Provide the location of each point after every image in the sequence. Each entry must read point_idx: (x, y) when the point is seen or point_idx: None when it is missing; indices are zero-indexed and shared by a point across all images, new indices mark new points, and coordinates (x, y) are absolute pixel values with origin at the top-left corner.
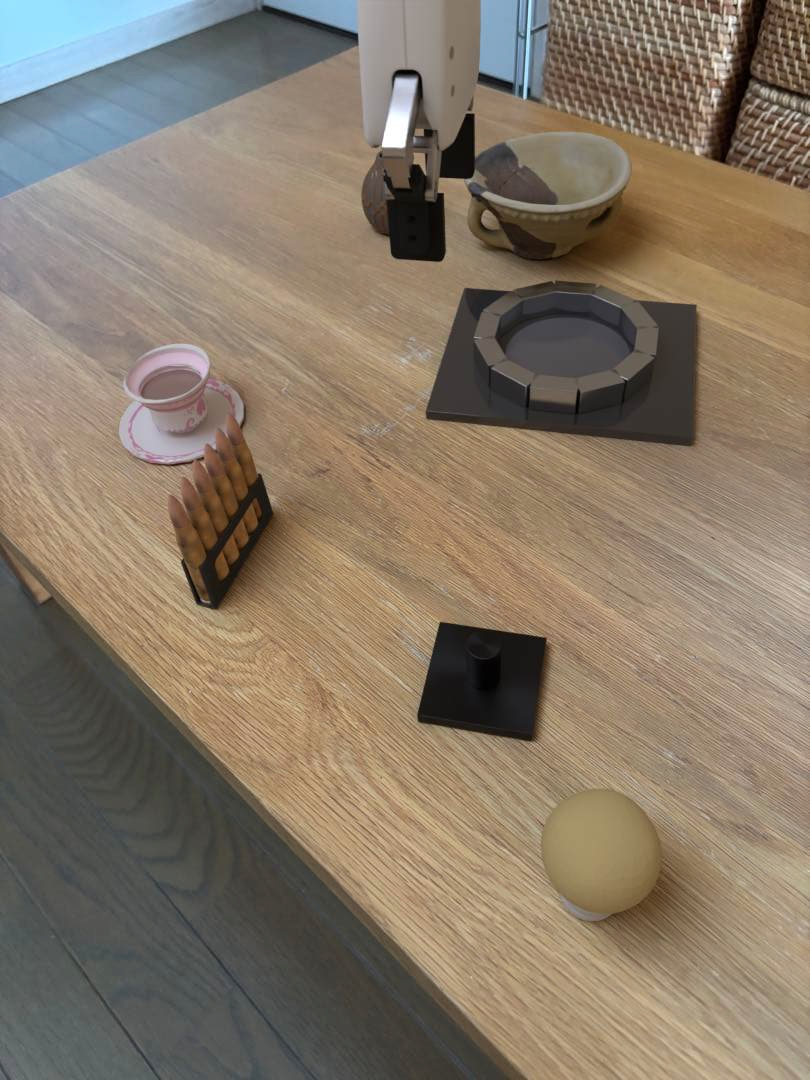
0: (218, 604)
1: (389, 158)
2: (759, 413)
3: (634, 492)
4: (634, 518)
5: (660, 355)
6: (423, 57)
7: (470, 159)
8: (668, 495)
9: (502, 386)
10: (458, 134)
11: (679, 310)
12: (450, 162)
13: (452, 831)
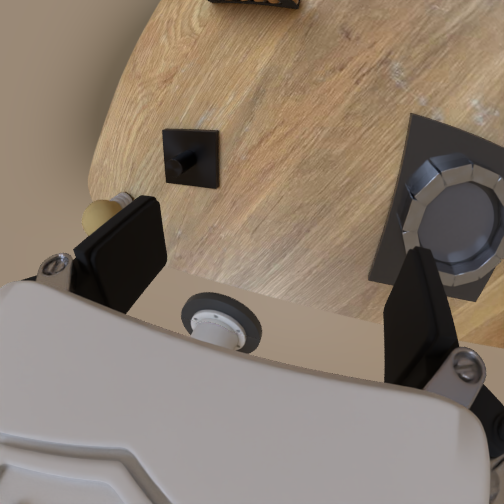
0: (213, 2)
1: None
2: None
3: (333, 241)
4: (312, 238)
5: None
6: None
7: (384, 334)
8: (329, 258)
9: (427, 176)
10: (395, 357)
11: (474, 293)
12: (398, 302)
13: (129, 152)
